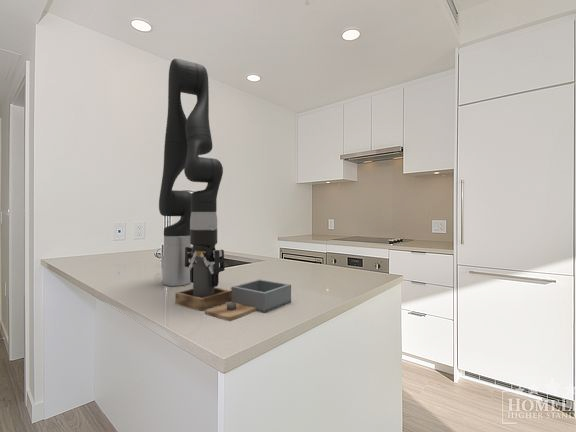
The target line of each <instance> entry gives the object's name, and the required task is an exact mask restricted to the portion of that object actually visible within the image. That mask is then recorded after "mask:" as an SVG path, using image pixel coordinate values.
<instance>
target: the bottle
mask: <svg viewBox="0 0 576 432" xmlns="http://www.w3.org/2000/svg"><path fill="white" fill-rule="evenodd" d="M195 252H196V256H197V257H195V261H197V264H195V265H194V266H193V283H192V289H193V296H196V297H200V298H204V297H207V296H211V295H214V287H210V274H211V272H210V270H209V268H208V267H206V265H205V263H204V258H201V256H200V255H201V252H203V253H206V251H200V250H196V251H195ZM213 268H214V267H213ZM214 269H215V268H214Z"/></svg>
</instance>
